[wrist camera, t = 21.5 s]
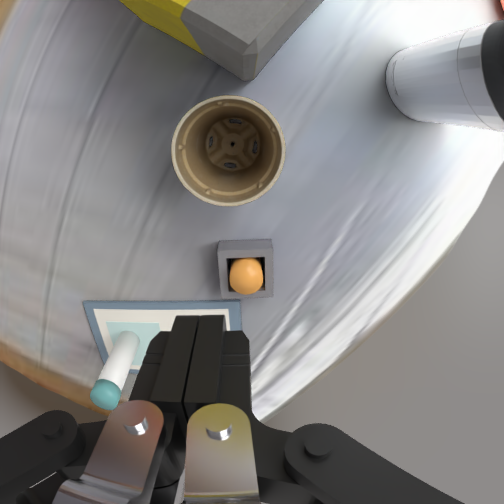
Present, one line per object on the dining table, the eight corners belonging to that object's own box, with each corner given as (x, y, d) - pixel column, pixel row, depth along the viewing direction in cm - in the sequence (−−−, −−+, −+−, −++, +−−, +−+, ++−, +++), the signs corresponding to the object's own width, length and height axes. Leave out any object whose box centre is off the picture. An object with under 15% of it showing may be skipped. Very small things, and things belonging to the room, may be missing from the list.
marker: (137, 330, 42) (111, 392, 31) (142, 348, 43) (120, 411, 32) (115, 329, 42) (86, 389, 30) (121, 348, 43) (95, 408, 32)
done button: (261, 249, 38) (262, 264, 34) (261, 277, 39) (263, 293, 35) (230, 250, 38) (228, 265, 34) (231, 278, 39) (230, 295, 35)
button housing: (271, 238, 38) (273, 248, 35) (271, 284, 40) (273, 297, 37) (219, 240, 38) (217, 250, 35) (222, 286, 40) (221, 298, 37)
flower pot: (203, 197, 35) (191, 220, 28) (177, 117, 32) (156, 116, 24) (285, 173, 35) (298, 189, 27) (262, 91, 31) (267, 81, 23)
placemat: (239, 299, 41) (239, 302, 40) (244, 373, 46) (244, 376, 45) (84, 300, 41) (82, 303, 40) (107, 369, 46) (106, 371, 45)
